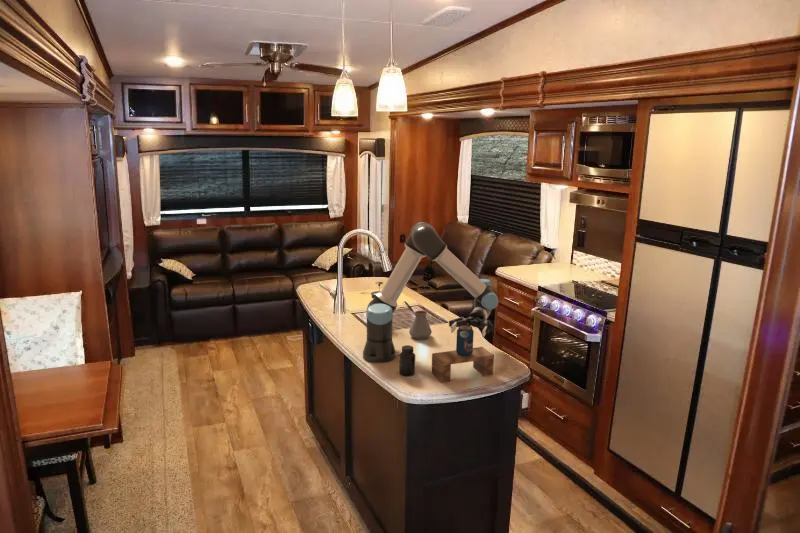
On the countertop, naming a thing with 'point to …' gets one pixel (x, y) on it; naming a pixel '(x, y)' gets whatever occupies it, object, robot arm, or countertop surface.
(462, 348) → the soda can
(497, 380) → the countertop surface
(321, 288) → the countertop surface
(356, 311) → the countertop surface
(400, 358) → the supplement bottle
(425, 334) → the coffee pot
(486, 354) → the bridge shelf
